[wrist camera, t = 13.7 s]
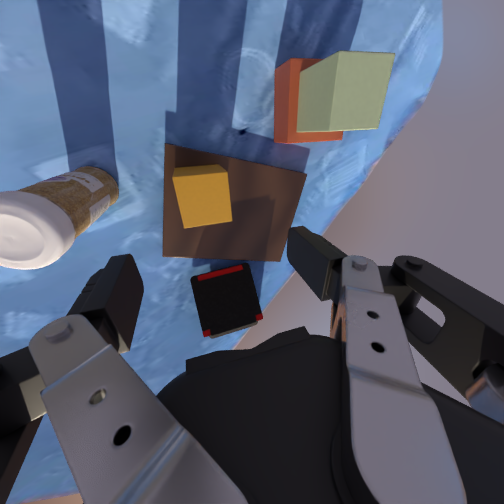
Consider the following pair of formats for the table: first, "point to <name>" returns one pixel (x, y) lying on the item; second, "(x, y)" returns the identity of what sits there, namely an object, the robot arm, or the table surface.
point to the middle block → (344, 92)
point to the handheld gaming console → (226, 300)
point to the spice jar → (51, 216)
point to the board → (233, 210)
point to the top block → (202, 195)
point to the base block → (293, 104)
